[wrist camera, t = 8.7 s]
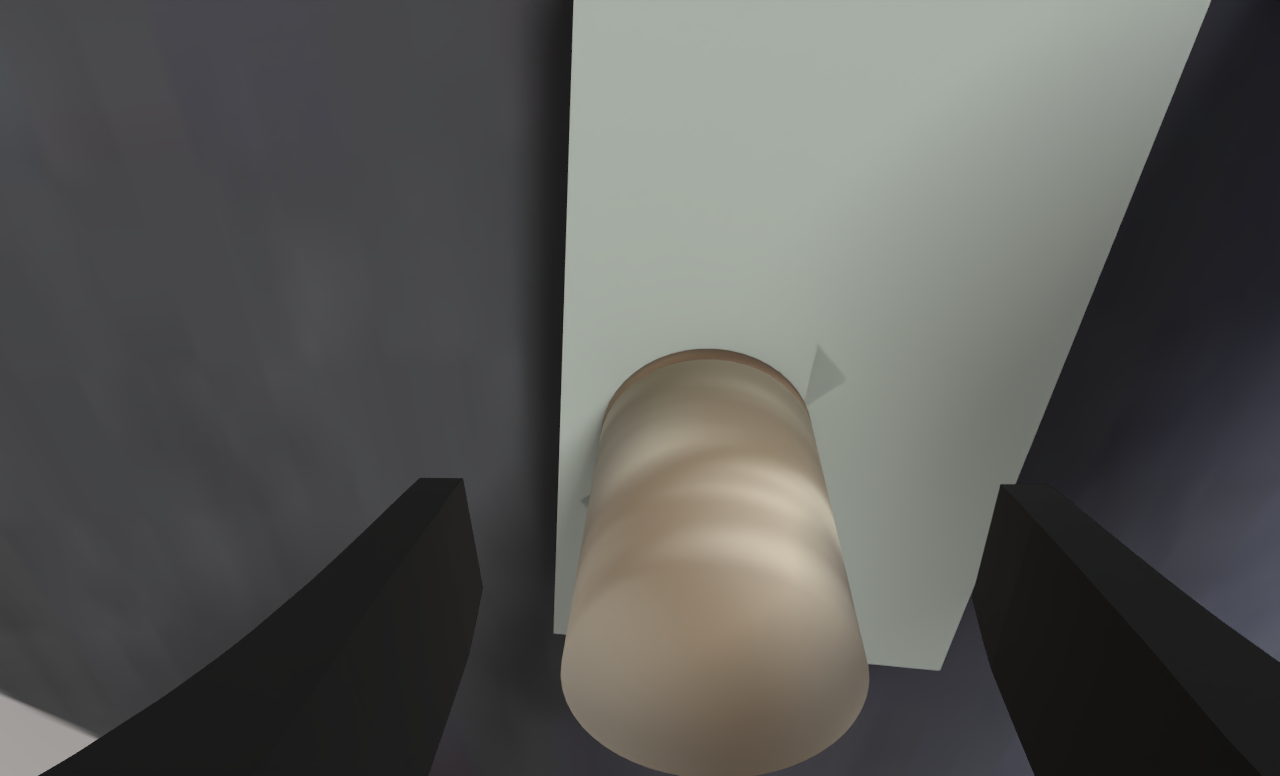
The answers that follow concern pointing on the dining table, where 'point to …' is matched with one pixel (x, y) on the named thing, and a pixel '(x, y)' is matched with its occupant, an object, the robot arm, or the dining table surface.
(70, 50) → the dining table surface
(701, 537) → the peg
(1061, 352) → the board
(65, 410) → the dining table surface
